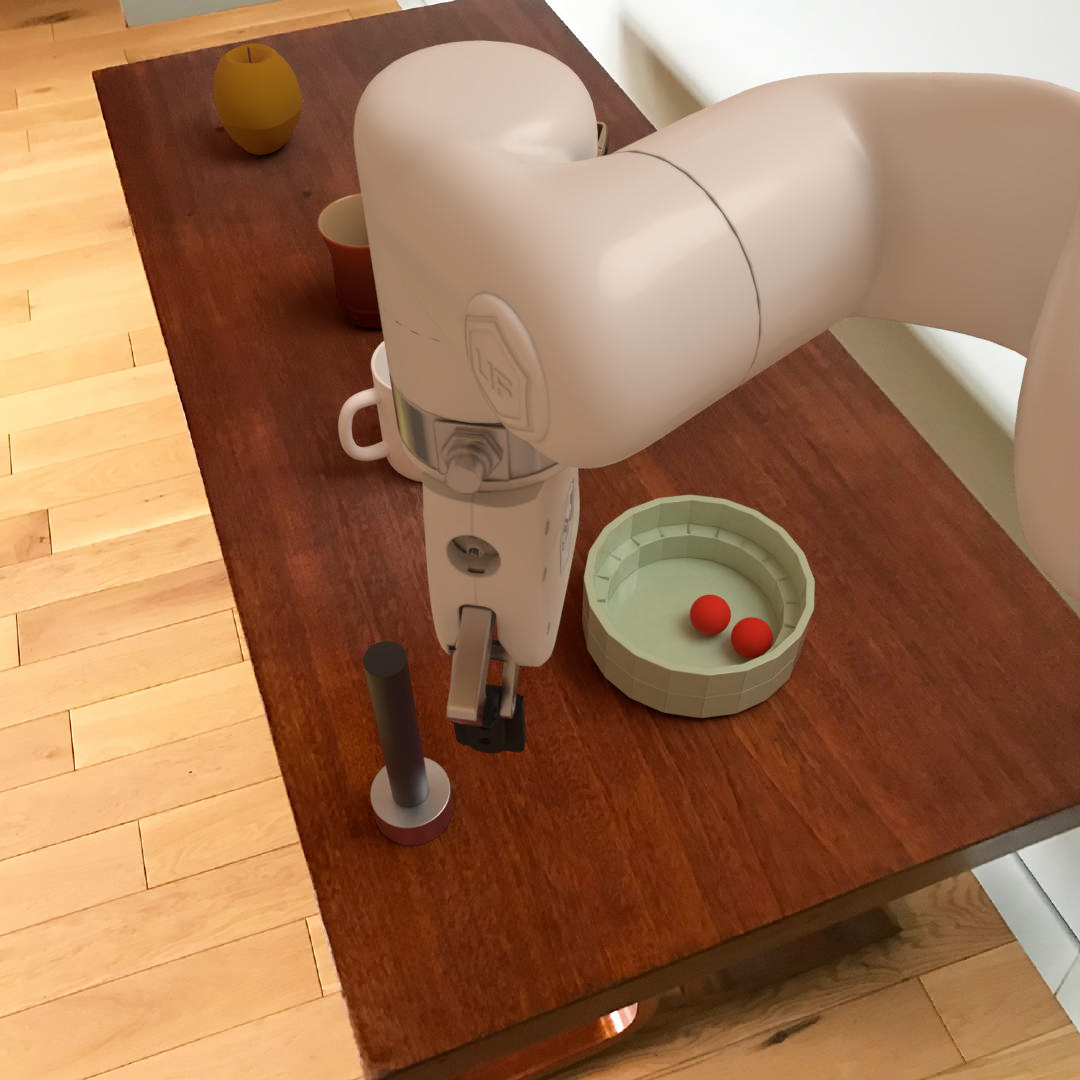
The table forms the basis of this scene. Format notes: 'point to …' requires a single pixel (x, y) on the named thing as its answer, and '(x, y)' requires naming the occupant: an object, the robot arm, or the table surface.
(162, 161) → the table surface
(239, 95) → the apple
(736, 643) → the tomato
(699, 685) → the mixing bowl
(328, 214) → the mug
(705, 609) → the tomato
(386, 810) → the dark post
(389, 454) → the cup
